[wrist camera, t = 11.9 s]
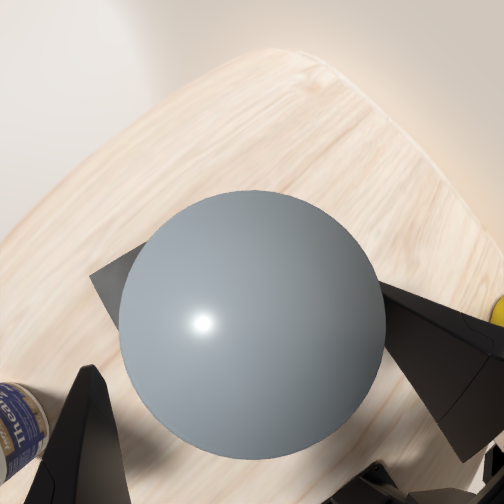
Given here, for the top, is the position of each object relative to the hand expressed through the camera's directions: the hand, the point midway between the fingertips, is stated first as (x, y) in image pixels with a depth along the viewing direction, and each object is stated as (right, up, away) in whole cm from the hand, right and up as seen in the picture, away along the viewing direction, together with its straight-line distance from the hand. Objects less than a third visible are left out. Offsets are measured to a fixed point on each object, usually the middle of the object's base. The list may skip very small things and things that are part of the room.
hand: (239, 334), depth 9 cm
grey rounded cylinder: (-2, -2, +8) cm, 8 cm away
